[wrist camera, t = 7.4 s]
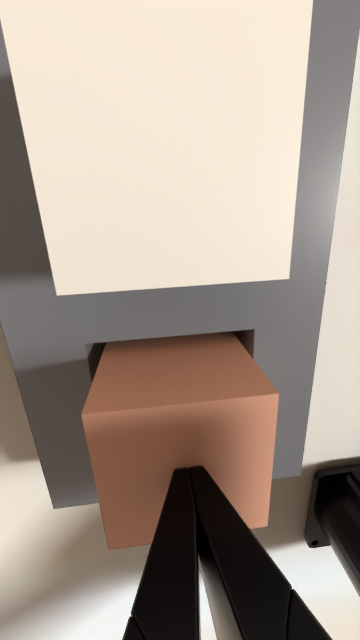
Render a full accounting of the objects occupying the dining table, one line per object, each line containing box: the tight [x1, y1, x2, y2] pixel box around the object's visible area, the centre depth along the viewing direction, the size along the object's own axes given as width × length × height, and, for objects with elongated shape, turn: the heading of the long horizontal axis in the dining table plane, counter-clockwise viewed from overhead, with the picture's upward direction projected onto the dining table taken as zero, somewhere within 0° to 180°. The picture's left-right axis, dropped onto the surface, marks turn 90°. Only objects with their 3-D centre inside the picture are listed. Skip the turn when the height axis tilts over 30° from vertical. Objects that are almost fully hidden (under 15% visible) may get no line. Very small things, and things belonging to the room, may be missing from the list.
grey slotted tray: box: [0, 0, 360, 509], centre depth 10 cm, size 25×11×3 cm, turn 3°
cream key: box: [0, 0, 313, 296], centre depth 7 cm, size 5×5×5 cm
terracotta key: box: [81, 331, 279, 550], centre depth 10 cm, size 5×5×5 cm
